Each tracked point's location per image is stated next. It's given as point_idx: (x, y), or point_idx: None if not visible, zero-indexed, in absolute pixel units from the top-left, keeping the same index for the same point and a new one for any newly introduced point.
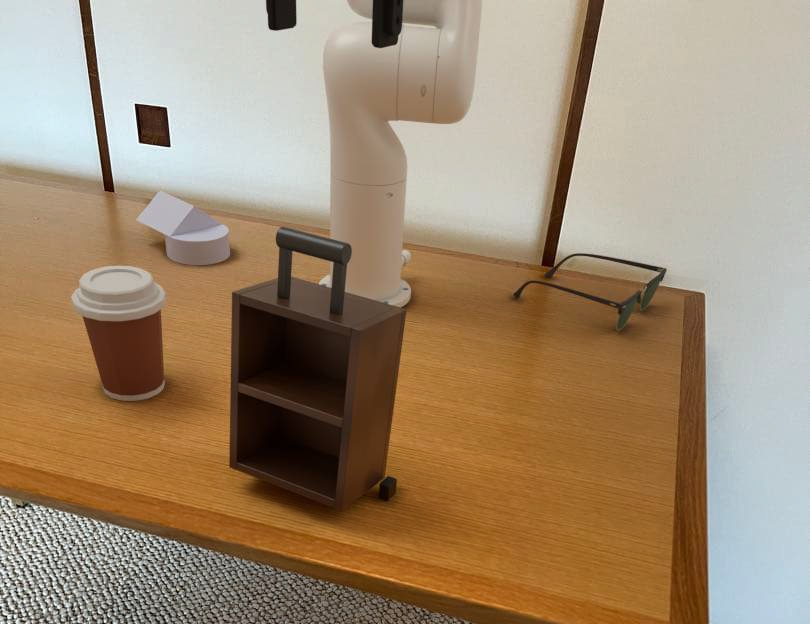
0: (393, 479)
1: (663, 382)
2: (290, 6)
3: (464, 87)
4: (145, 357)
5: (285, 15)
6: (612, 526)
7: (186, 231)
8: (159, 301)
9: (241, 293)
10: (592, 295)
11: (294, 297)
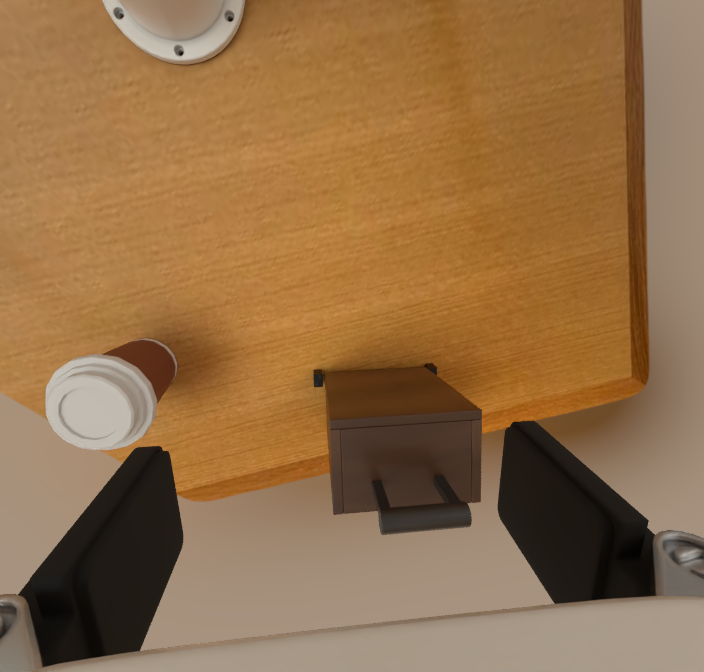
0: (435, 370)
1: (605, 6)
2: (150, 514)
3: None
4: (164, 388)
5: (166, 524)
6: (587, 306)
7: None
8: (148, 391)
9: (343, 511)
10: None
11: (384, 477)
